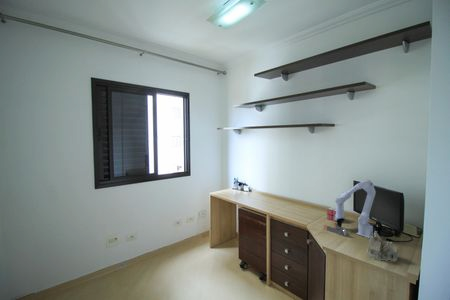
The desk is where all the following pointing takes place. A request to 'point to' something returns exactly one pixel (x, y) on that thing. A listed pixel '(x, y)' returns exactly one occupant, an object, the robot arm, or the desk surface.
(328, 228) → the tongs fixed
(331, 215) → the puzzle cube
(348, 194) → the robot arm
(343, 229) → the arm
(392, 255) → the ceramic cottage
